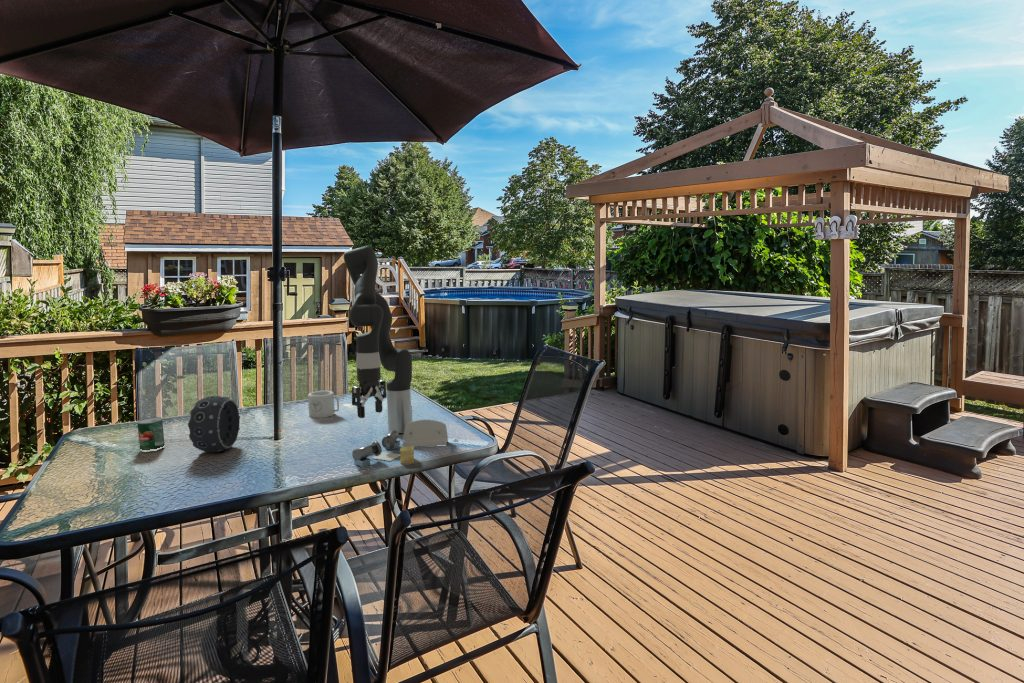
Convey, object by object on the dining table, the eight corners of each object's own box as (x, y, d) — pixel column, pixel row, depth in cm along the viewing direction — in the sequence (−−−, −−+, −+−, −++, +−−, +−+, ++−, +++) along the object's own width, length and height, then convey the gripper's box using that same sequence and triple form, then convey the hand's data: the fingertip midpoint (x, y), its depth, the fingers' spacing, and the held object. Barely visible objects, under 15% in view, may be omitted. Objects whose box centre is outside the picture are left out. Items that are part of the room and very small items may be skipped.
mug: (304, 418, 256) (303, 395, 255) (316, 411, 267) (315, 389, 265) (333, 419, 254) (332, 396, 252) (344, 412, 264) (343, 390, 263)
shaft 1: (360, 468, 195) (359, 449, 194) (351, 465, 198) (350, 446, 197) (382, 461, 202) (381, 443, 201) (373, 458, 205) (372, 440, 204)
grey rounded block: (401, 447, 216) (402, 419, 218) (403, 447, 221) (403, 420, 223) (447, 446, 216) (447, 418, 218) (448, 446, 221) (448, 419, 223)
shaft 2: (387, 445, 218) (387, 428, 217) (400, 445, 218) (400, 428, 217) (382, 453, 209) (381, 436, 208) (395, 453, 209) (394, 436, 208)
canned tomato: (136, 453, 212) (132, 423, 211) (145, 446, 220) (142, 417, 218) (159, 452, 214) (156, 422, 212) (168, 445, 221) (165, 416, 220)
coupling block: (400, 459, 204) (400, 446, 203) (414, 458, 204) (413, 446, 204) (400, 464, 199) (399, 451, 198) (414, 463, 200) (413, 450, 199)
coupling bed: (382, 452, 210) (382, 451, 210) (401, 455, 207) (401, 454, 207) (371, 458, 204) (371, 457, 204) (390, 461, 201) (390, 460, 201)
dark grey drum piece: (244, 441, 225) (239, 390, 222) (219, 459, 205) (214, 403, 202) (215, 442, 224) (210, 390, 221) (188, 460, 204) (182, 404, 202)
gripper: (373, 362, 200) (375, 409, 202) (344, 368, 187) (346, 418, 189) (391, 363, 197) (393, 411, 198) (362, 369, 184) (364, 420, 186)
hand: (370, 414), depth 194 cm, fingers open, 8 cm apart
